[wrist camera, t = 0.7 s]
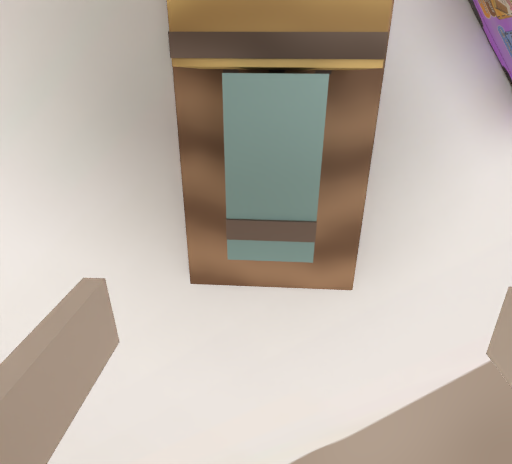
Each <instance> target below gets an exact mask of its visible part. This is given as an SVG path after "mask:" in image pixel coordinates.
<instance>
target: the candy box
mask: <svg viewBox="0 0 512 464" xmlns="http://www.w3.org/2000/svg"><path fill="white" fill-rule="evenodd" d="M469 1H470V3H471V5H472V8H473V10H474V12H475V14H476V16H477V18H478V20H479V22H480V23H481V25H482V27H483V29H484V31H485V33H486V35H487V37H488V40H489V42H490V44H491V46H492V48H493V50H494V51H495V53H496V55H497V57H498V59H499V61H500V63H501V65H502V67H503V69H504V71H505V73H506V75H507V77H508V78H509V80H510V82H511V84H512V0H469Z"/></svg>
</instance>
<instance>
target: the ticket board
mask: <svg viewBox="0 0 512 464" xmlns="http://www.w3.org/2000/svg"><path fill="white" fill-rule="evenodd" d="M393 4H394V0H167V9H168V21H169V32H168V34H169V46H170V58H172V67H173V76H174V88H175V100H176V112H177V125H178V137H179V149H180V161H181V173H182V185H183V197H184V210H185V222H186V234H187V246H188V258H189V270H190V282H191V284H211V285H236V286H261V287H286V288H311V289H336V290H352V288H353V281H354V274H355V267H356V260H357V254H358V247H359V240H360V233H361V226H362V219H363V212H364V205H365V198H366V191H367V184H368V177H369V171H370V164H371V157H372V150H373V143H374V136H375V129H376V122H377V115H378V108H379V101H380V94H381V87H382V81H383V74H384V67H385V60H386V53H387V46H388V39H389V32H390V25H391V18H392V11H393ZM222 73H286V74H329V82H328V94H327V105H326V117H325V128H324V140H323V152H322V163H321V175H320V187H319V198H318V210H317V227H316V239H315V245H314V256H313V263H310V262H282V261H254V260H228V257H227V240H226V189H225V156H224V122H223V89H222Z"/></svg>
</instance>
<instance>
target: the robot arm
mask: <svg viewBox="0 0 512 464" xmlns="http://www.w3.org/2000/svg"><path fill="white" fill-rule="evenodd" d="M118 343H119V338H118V333H117V329H116V325H115V320H114V316H113V311H112V307H111V303H110V298H109V294H108V289H107V285H106V280H105V278H83V279H82V280H81V281H80V282H79V283H78V284H77V285H76V286H75V287H74V288H73V289H72V290H71V291H70V292H69V293H68V294H67V295H66V296H65V297H64V298H63V299H62V301H61V302H60V303H59V304H58V305H57V306H56V307H55V308H54V309H53V310H52V311H51V312H50V313H49V314H48V315H47V316H46V317H45V318H44V319H43V320H42V321H41V322H40V323H39V324H38V326H37V327H36V328H35V329H34V330H33V331H32V332H31V333H30V334H29V335H28V336H27V337H26V338H25V339H24V340H23V341H22V342H21V343H20V344H19V345H18V346H17V347H16V348H15V349H14V351H13V352H12V353H11V354H10V355H9V356H8V357H7V358H6V359H5V360H4V361H3V362H2V363H1V364H0V464H47V463H48V461H49V459H50V458H51V456H52V454H53V453H54V451H55V449H56V447H57V446H58V444H59V442H60V441H61V439H62V437H63V436H64V434H65V432H66V431H67V429H68V427H69V426H70V424H71V422H72V421H73V419H74V417H75V416H76V414H77V412H78V411H79V409H80V407H81V406H82V404H83V402H84V400H85V399H86V397H87V395H88V394H89V392H90V390H91V389H92V387H93V385H94V384H95V382H96V380H97V379H98V377H99V375H100V374H101V372H102V370H103V369H104V367H105V365H106V364H107V362H108V360H109V358H110V357H111V355H112V353H113V352H114V350H115V348H116V347H117V345H118ZM486 354H487V355H488V357H489V358H490V359H491V361H492V362H493V364H494V365H495V366H496V368H497V369H498V370H499V372H500V373H501V374H502V376H503V377H504V378H505V380H506V381H507V382H508V384H509V385H510V387H511V388H512V287H509V288H508V291H507V294H506V296H505V299H504V302H503V305H502V308H501V311H500V314H499V317H498V320H497V323H496V326H495V329H494V332H493V335H492V338H491V341H490V344H489V347H488V350H487V353H486Z"/></svg>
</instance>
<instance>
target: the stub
mask: <svg viewBox="0 0 512 464" xmlns="http://www.w3.org/2000/svg"><path fill="white" fill-rule="evenodd" d="M328 82H329V74H286V73H222V89H223V122H224V156H225V189H226V240H227V257H228V260H254V261H282V262H310V263H313V256H314V245H315V239H316V227H317V210H318V198H319V187H320V175H321V163H322V152H323V140H324V128H325V117H326V105H327V94H328Z"/></svg>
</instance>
